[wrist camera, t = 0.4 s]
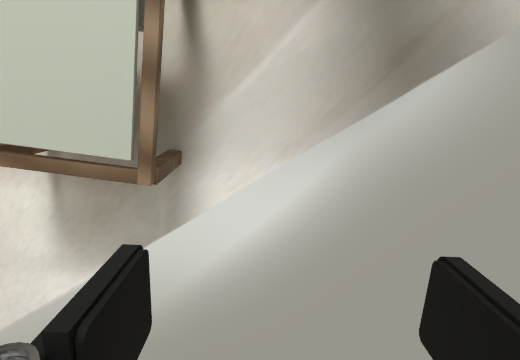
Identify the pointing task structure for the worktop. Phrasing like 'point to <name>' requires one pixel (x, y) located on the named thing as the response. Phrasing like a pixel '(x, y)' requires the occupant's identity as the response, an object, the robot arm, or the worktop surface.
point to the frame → (148, 163)
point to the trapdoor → (70, 75)
